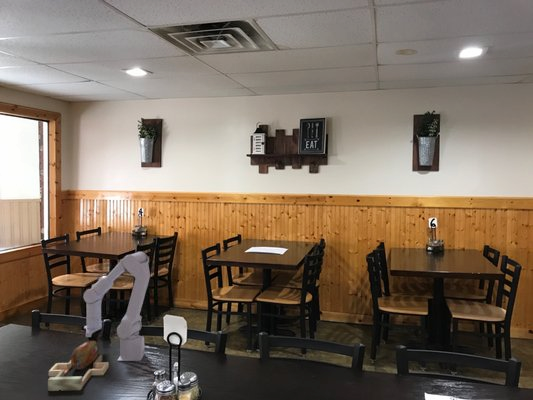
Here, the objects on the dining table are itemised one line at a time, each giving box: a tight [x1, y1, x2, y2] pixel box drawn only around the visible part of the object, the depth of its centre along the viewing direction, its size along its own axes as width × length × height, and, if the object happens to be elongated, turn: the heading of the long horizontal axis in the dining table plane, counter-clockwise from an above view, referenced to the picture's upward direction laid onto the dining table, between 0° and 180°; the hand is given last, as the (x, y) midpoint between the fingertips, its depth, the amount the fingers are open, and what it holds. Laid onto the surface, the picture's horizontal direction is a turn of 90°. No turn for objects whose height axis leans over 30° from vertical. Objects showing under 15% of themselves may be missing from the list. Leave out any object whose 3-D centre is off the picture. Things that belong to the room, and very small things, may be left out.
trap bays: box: [48, 361, 110, 377], centre depth 166 cm, size 20×7×2 cm, turn 94°
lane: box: [47, 354, 103, 392], centre depth 164 cm, size 11×26×4 cm, turn 4°
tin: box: [70, 340, 100, 370], centre depth 173 cm, size 15×3×8 cm, turn 168°
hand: (94, 347), depth 184 cm, fingers closed
